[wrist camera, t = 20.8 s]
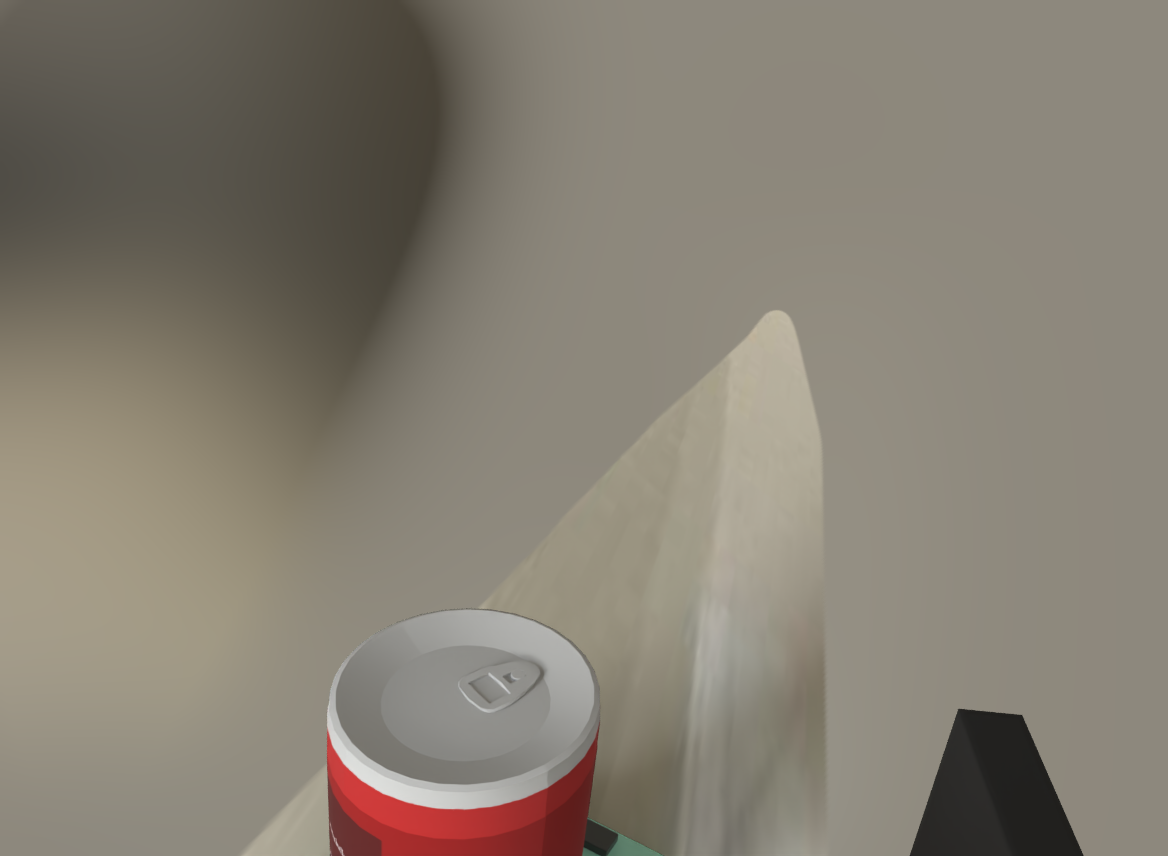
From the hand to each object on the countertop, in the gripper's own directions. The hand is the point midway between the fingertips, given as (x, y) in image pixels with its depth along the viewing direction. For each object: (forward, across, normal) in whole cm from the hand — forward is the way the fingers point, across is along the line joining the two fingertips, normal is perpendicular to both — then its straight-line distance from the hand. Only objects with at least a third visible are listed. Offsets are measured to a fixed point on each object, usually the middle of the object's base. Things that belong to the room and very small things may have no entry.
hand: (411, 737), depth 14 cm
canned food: (+14, -1, -23) cm, 27 cm away
